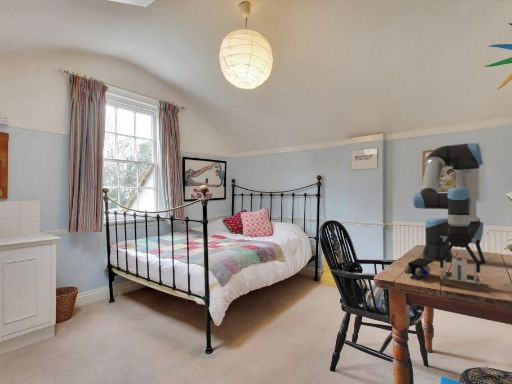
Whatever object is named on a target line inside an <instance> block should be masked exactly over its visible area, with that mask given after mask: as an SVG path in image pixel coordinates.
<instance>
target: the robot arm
mask: <svg viewBox="0 0 512 384" xmlns="http://www.w3.org/2000/svg"><path fill="white" fill-rule="evenodd" d="M482 165H484V162H483V156H482V151H481V146H480V144H479V143H476V142H474V143H472V142H470V143H461V144H451V145H443V146H439V147H437V148H435V149H434V150H433V151H431V152H430V153H429V154H428V155H427V156H426V158H425V160H424V165H423V166H424V168H425V169H424V172H423V173H424V174H423V179H422V181H421V187H420V191H419V192H415V193H413V196H412V203H413V204H412V205H413V207H414V208H415V209H422V210H425V209H426V210H427V209H428V210H431V209H432V210H434V209H435V210H447V217H439V218H430V219H426V221H425V224H424V225H425V227H424V228H425V244H424V247H423V250H422V253H421V255H422V257H421V258H422V259H427V260H432V261H435V262H439V267H440V269H442V271H443V277H446V272H447V266H446V264H447V263H446V262H452V258H454V254H453V252H452V249H453V247H455V248H462V249H464V248H465V249H466V251H467V253H468V254H469V256H470V257H471V258H472V260H473V262H474V263H473V275H474V281H476V276H477V274H480V273H481V265H485V264H487V263H486V260H485V257H484V254H483V251H482V248H481V246H480V244H481V242H482V237H483V233H484V232H483V231H484V226H485V225H484V222H483V221H481V218H480V217H478V216H477V215H478V214H477V179H476V177H477V176H476V175H477V171H479V169H480V166H482ZM447 167H448V168H449V167H451V168H452V171H453V172H454V173H455V188H448V190H447V192H439V189H440V184H441V178H442V172H443V170H444V169H445V168H447ZM469 244H474V245H475V246H476V247H475V248H476V250H477V252H478V255H479V259H480V260H479V259H478V258H477V256H476V254H475V253H474V251H473V250H472V248H471V247H470V246H469Z"/></svg>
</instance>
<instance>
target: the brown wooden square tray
mask: <svg viewBox="0 0 512 384" xmlns="http://www.w3.org/2000/svg"><path fill="white" fill-rule="evenodd" d="M439 286H440V287H446V288H447V287H448V288H454V289H460V290H466V291H471V292H477V293H480V292H481V283H480V276H479V275H476V281H474V274H468V273H467V282H466V281H459V280H452V271H446V277H443V270H441V273H440V277H439Z"/></svg>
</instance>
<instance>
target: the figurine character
mask: <svg viewBox="0 0 512 384" xmlns="http://www.w3.org/2000/svg"><path fill="white" fill-rule="evenodd" d="M432 263H434V260H430V259H426V258H423V257H419V258H416V259H414V260H412V261H409V262H408V263H407V265H406V266H405V268H404V273H405V274H406V275H411V276H409V278H410V279H412V278H416V280H417V281H418V280H419V279H421V277H424V276H428V275H430V274H431V267H430V264H432Z"/></svg>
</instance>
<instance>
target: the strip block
mask: <svg viewBox="0 0 512 384" xmlns="http://www.w3.org/2000/svg"><path fill="white" fill-rule="evenodd" d="M467 262H468V260H467V259H464V258H458V257H457V258H454V257H453V258H452V261H451V272H452V280H459V281H466V282H467V274H468V265H467V264H468V263H467Z"/></svg>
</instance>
